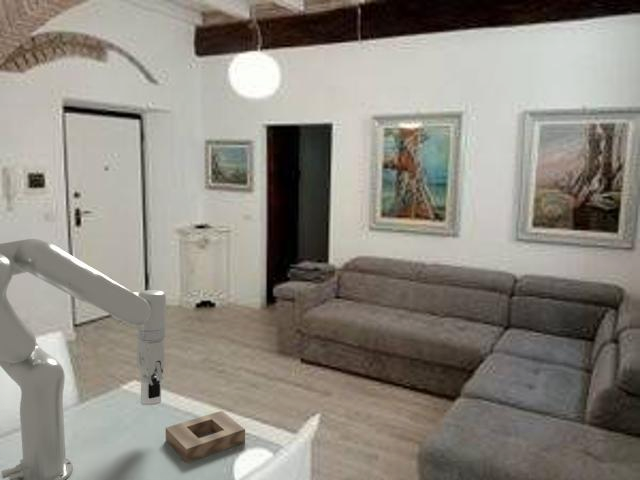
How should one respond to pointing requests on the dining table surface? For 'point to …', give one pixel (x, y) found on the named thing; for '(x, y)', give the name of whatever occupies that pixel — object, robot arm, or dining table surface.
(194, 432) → the socket block
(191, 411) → the dining table surface
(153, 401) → the eye dropper bottle
